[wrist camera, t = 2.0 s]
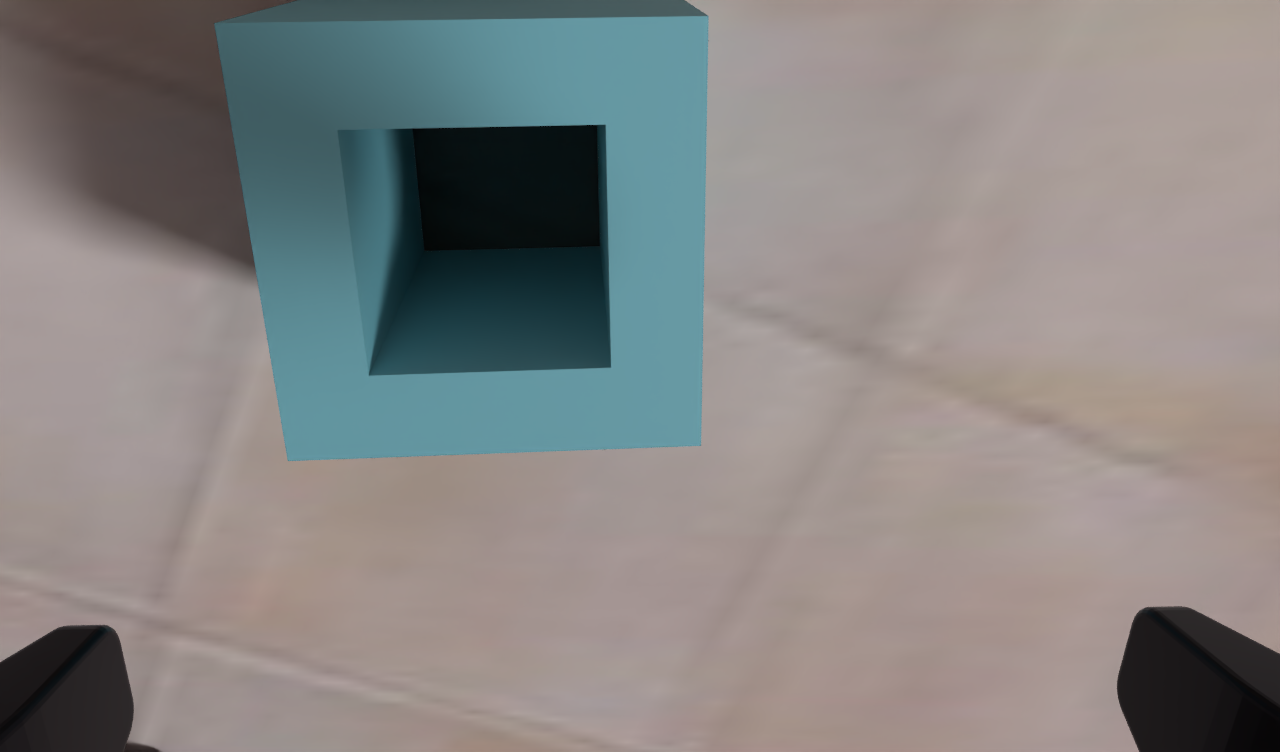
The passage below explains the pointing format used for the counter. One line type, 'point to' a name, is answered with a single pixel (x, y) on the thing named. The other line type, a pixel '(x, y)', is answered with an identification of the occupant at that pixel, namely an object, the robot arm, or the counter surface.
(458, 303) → the square socket block
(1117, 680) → the robot arm
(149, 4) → the counter surface
